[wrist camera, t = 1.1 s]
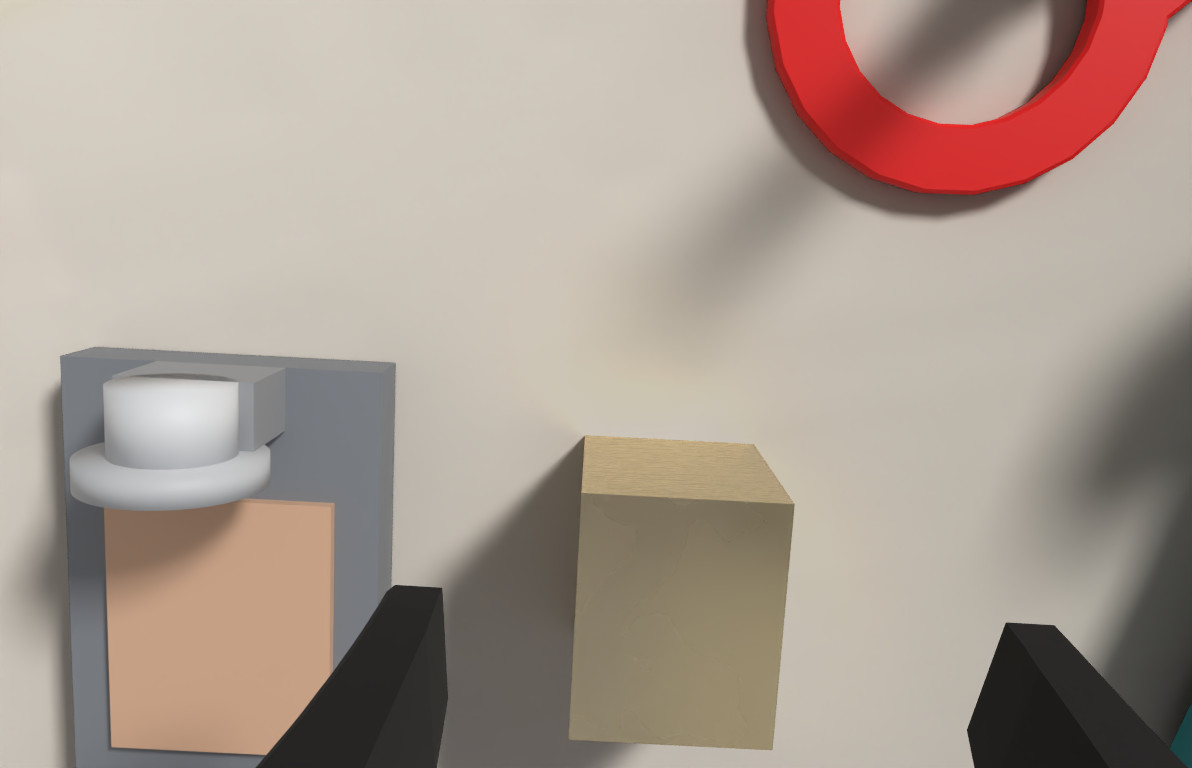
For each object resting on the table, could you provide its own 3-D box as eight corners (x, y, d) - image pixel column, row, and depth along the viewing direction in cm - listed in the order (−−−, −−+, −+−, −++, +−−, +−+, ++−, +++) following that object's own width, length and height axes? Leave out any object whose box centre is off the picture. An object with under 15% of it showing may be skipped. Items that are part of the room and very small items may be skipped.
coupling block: (737, 642, 24) (772, 750, 19) (574, 633, 24) (568, 739, 19) (753, 443, 23) (794, 504, 19) (585, 434, 23) (581, 492, 19)
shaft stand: (386, 831, 25) (323, 1012, 19) (109, 816, 25) (-36, 994, 19) (395, 362, 23) (328, 411, 17) (95, 347, 23) (-72, 390, 17)
